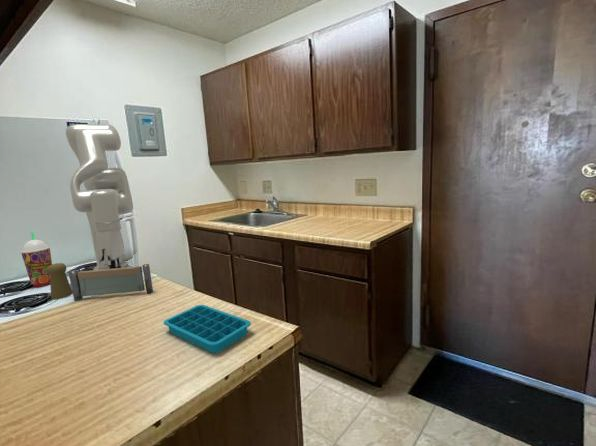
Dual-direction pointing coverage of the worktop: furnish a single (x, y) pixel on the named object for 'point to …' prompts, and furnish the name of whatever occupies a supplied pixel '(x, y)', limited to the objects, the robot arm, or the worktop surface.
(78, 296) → the gate posts
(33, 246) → the smoothie
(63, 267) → the cork
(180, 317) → the ice cube tray
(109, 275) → the gate
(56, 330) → the worktop surface
